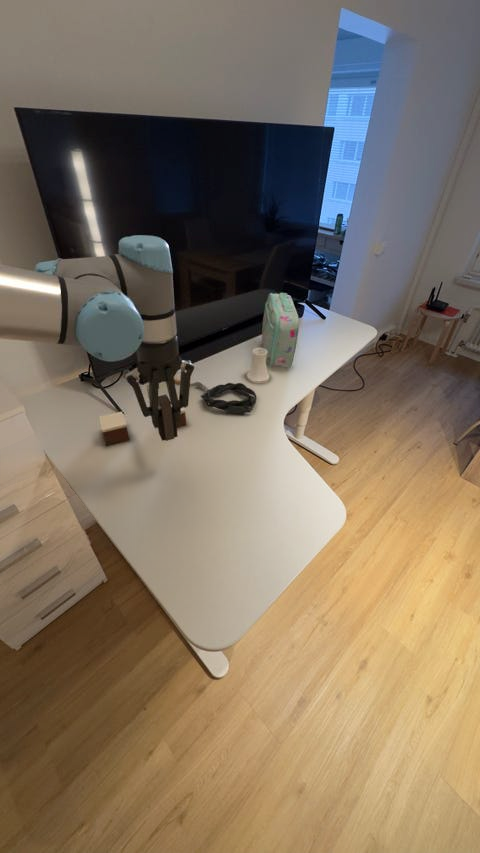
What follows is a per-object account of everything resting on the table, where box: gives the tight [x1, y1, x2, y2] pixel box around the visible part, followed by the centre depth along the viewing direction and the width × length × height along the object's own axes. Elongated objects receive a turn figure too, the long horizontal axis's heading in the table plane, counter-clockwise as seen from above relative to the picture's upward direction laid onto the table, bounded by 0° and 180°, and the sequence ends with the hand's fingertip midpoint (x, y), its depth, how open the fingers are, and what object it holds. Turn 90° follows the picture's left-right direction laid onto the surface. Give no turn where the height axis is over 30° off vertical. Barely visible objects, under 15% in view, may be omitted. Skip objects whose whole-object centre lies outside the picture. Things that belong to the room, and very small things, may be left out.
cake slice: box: [170, 398, 187, 429], centre depth 96 cm, size 5×6×6 cm
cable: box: [200, 382, 257, 415], centre depth 105 cm, size 17×14×4 cm
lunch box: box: [260, 292, 300, 368], centre depth 124 cm, size 27×10×21 cm, turn 3°
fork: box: [174, 377, 209, 392], centre depth 112 cm, size 2×2×20 cm
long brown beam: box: [146, 384, 176, 442], centre depth 78 cm, size 2×17×10 cm, turn 26°
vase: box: [246, 347, 270, 384], centre depth 115 cm, size 8×8×10 cm
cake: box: [98, 411, 131, 447], centre depth 91 cm, size 6×6×6 cm
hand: (168, 434), depth 76 cm, fingers closed on long brown beam, 2 cm apart
